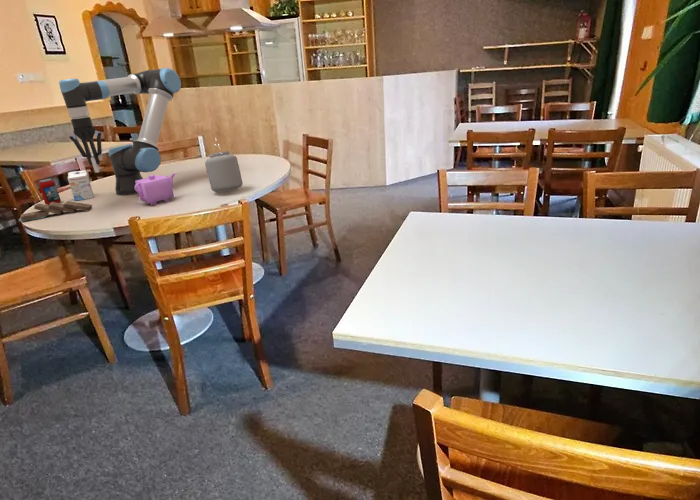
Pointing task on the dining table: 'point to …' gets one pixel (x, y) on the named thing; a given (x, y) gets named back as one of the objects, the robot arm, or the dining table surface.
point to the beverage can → (49, 191)
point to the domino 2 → (31, 219)
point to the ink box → (80, 185)
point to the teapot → (155, 188)
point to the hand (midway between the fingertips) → (97, 171)
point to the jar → (223, 171)
